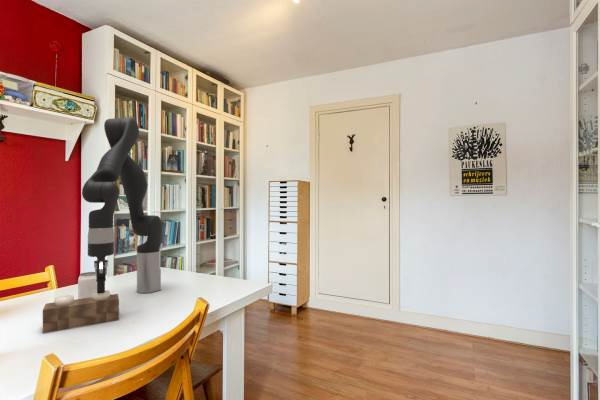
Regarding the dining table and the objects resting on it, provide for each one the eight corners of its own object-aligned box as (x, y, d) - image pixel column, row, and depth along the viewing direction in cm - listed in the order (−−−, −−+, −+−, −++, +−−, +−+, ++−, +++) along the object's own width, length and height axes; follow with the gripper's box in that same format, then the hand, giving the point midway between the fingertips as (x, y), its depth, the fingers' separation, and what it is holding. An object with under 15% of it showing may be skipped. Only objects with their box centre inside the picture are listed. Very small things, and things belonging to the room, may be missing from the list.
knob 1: (74, 317, 105) (74, 294, 105) (73, 321, 101) (73, 298, 101) (55, 320, 102) (55, 296, 102) (53, 325, 98) (53, 300, 98)
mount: (117, 313, 113) (117, 293, 113) (118, 319, 107) (118, 299, 107) (45, 325, 102) (45, 303, 102) (42, 333, 96) (42, 310, 96)
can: (76, 308, 117) (76, 276, 117) (79, 303, 123) (79, 272, 123) (97, 306, 120) (97, 274, 120) (99, 301, 126) (99, 271, 126)
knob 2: (109, 311, 111) (109, 289, 110) (110, 315, 106) (110, 293, 106) (92, 314, 108) (92, 292, 108) (92, 318, 104) (92, 295, 104)
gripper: (114, 242, 103) (114, 296, 103) (113, 238, 115) (113, 286, 115) (87, 244, 99) (86, 299, 99) (88, 239, 111) (88, 289, 111)
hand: (100, 292), depth 107 cm, fingers closed
